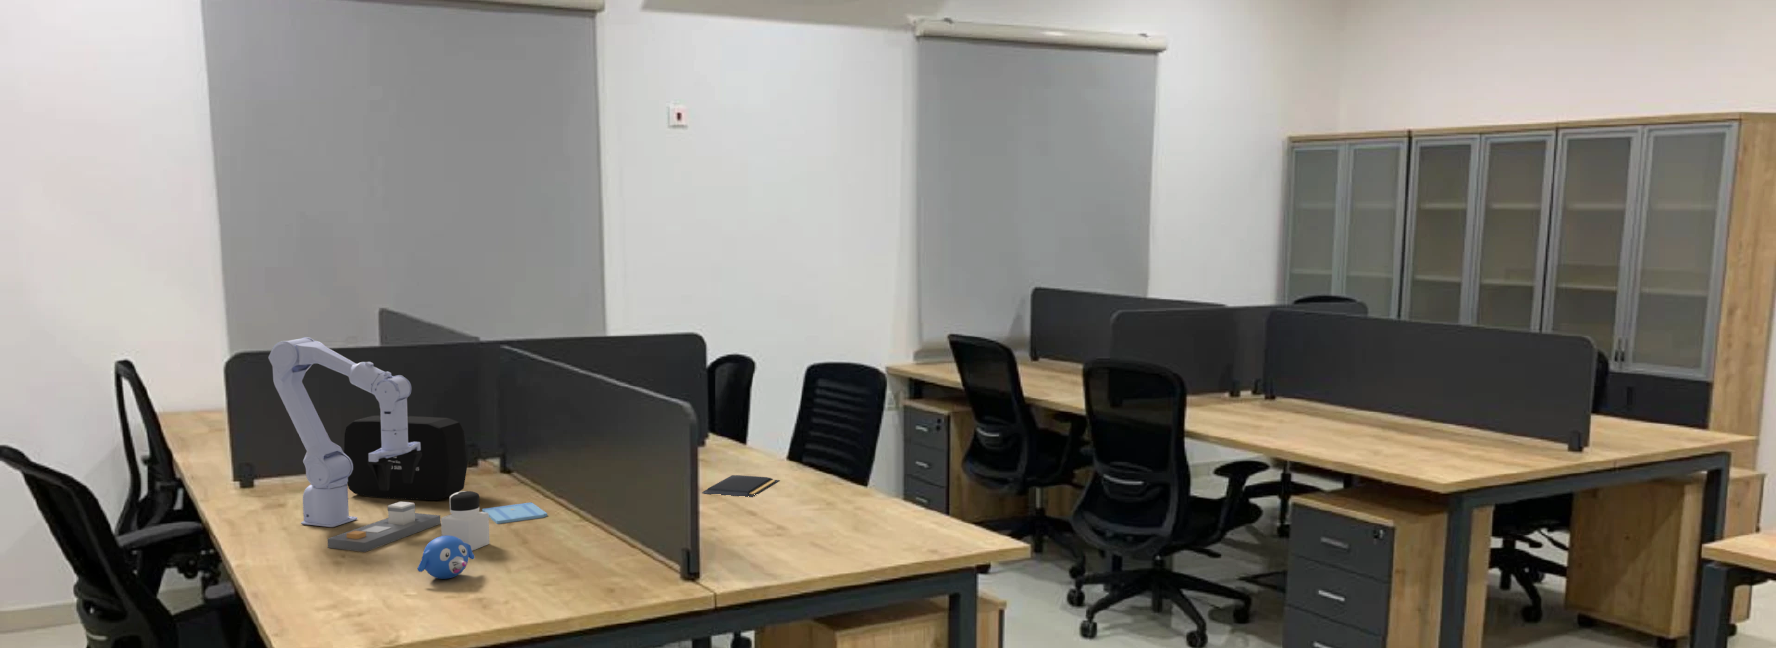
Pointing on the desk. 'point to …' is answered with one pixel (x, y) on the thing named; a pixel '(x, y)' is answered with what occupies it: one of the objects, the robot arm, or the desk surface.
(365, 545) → the grey slab
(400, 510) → the block
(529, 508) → the light blue flat rectangle
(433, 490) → the black hard case
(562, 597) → the desk surface
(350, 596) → the desk surface
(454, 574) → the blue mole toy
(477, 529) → the medicine bottle
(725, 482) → the black notebook
